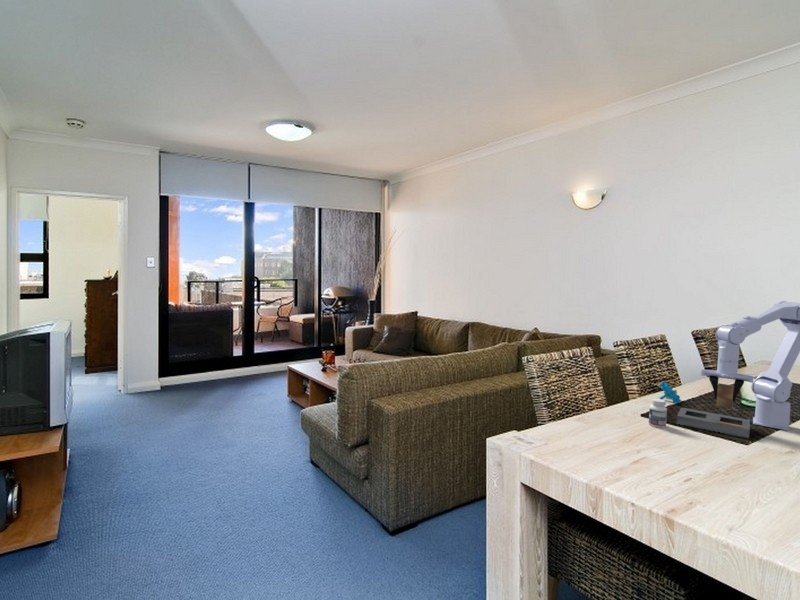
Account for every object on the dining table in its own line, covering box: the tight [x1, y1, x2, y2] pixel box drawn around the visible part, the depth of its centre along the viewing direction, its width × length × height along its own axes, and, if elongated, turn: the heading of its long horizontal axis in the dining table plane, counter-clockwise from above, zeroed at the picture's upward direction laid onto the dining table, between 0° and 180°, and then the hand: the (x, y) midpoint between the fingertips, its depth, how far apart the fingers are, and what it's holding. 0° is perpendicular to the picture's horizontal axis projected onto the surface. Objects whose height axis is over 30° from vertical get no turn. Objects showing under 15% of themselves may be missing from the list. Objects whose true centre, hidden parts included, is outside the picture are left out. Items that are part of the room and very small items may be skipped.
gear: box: [659, 381, 682, 404], centre depth 184 cm, size 11×6×10 cm
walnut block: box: [715, 382, 734, 409], centre depth 155 cm, size 4×4×7 cm
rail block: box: [676, 407, 751, 439], centre depth 155 cm, size 20×12×3 cm, turn 52°
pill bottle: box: [648, 398, 668, 429], centre depth 154 cm, size 5×5×9 cm
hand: (724, 399), depth 155 cm, fingers closed on walnut block, 4 cm apart
